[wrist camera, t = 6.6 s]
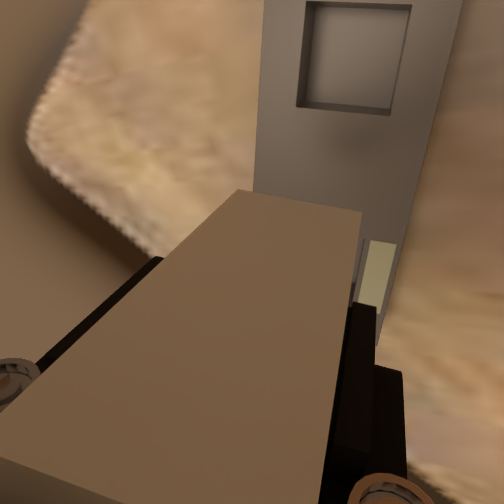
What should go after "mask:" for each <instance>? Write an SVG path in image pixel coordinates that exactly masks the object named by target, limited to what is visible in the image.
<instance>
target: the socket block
mask: <svg viewBox="0 0 504 504" xmlns="http://www.w3.org/2000/svg"><path fill="white" fill-rule="evenodd" d="M463 1H464V0H264V14H263V31H262V48H261V64H260V81H259V98H258V115H257V132H256V149H255V166H254V183H253V192H256V193H261V194H267V195H272V196H278V197H283V198H288V199H294V200H299V201H305V202H310V203H316V204H321V205H327V206H332V207H338V208H343V209H349V210H354V211H360V212H362V217H361V224H360V230H359V237H358V243H357V250H356V256H355V263H354V270H353V276H352V283H351V289H350V296H349V302H348V306H349V307H351V306H352V303H353V301H354V302H358V303H363V304H367V305H371V306H376V307H377V316H376V340H375V346H377V344H378V340H379V336H380V332H381V328H382V324H383V320H384V316H385V312H386V308H387V304H388V300H389V296H390V292H391V288H392V284H393V280H394V276H395V272H396V268H397V264H398V260H399V256H400V252H401V248H402V244H403V240H404V236H405V232H406V228H407V224H408V220H409V216H410V212H411V208H412V204H413V200H414V196H415V192H416V188H417V184H418V180H419V176H420V172H421V168H422V164H423V160H424V156H425V152H426V148H427V144H428V140H429V136H430V132H431V128H432V124H433V120H434V116H435V112H436V108H437V104H438V100H439V96H440V93H441V89H442V85H443V81H444V77H445V73H446V69H447V65H448V61H449V57H450V53H451V49H452V45H453V41H454V37H455V33H456V29H457V25H458V21H459V17H460V13H461V9H462V5H463Z"/></svg>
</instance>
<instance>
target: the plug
mask: <svg viewBox="0 0 504 504" xmlns="http://www.w3.org/2000/svg"><path fill="white" fill-rule="evenodd" d="M361 217H362V212H360V211H354V210H349V209H343V208H338V207H332V206H327V205H321V204H316V203H310V202H305V201H299V200H294V199H288V198H283V197H278V196H272V195H267V194H261V193H256V192H250V191H245V190H239V189H238V190H237V191H236V192H234V193H233V194H232V195H231V196H230V197H229V198H228V199H227V200H226V201H225V202H224V203H223V204H222V205H221V206H220V207H219V208H217V209H216V210H215V211H214V212H213V213H212V214H211V215H210V216H209V217H208V218H207V219H206V220H205V221H204V222H203V223H202V224H201V225H199V226H198V227H197V228H196V229H195V230H194V231H193V232H192V233H191V234H190V235H189V236H188V237H187V238H186V239H185V240H184V241H182V242H181V243H180V244H179V245H178V246H177V247H176V248H175V249H174V250H173V251H172V252H171V253H170V254H169V255H168V256H167V257H165V258H164V259H163V260H162V261H161V262H160V263H159V264H158V265H157V266H156V267H155V268H154V269H153V270H152V271H151V272H150V273H148V274H147V275H146V276H145V277H144V278H143V279H142V280H141V281H140V282H139V283H138V284H137V285H136V286H135V287H134V288H133V289H131V290H130V291H129V292H128V293H127V294H126V295H125V296H124V297H123V298H122V299H121V300H120V301H119V302H118V303H117V304H116V305H115V306H113V307H112V308H111V309H110V310H109V311H108V312H107V313H106V314H105V315H104V316H103V317H102V318H101V319H100V320H99V321H98V322H96V323H95V324H94V325H93V326H92V327H91V328H90V329H89V330H88V331H87V332H86V333H85V334H84V335H83V336H82V337H81V338H79V339H78V340H77V341H76V342H75V343H74V344H73V345H72V346H71V347H70V348H69V349H68V350H67V351H66V352H65V353H64V354H62V355H61V356H60V357H59V358H58V359H57V360H56V361H55V362H54V363H53V364H52V365H51V366H50V367H49V368H48V369H47V370H46V371H44V372H43V373H42V374H41V375H40V376H39V377H38V378H37V379H36V380H35V381H34V382H33V383H32V384H31V385H30V386H29V387H27V388H26V389H25V390H24V391H23V392H22V393H21V394H20V395H19V396H18V397H17V398H16V399H15V400H14V401H13V402H12V403H10V404H9V405H8V406H7V407H6V408H5V409H4V410H3V411H2V412H1V413H0V504H318V499H319V493H320V486H321V480H322V473H323V467H324V460H325V453H326V447H327V440H328V434H329V427H330V421H331V414H332V408H333V401H334V394H335V388H336V381H337V375H338V368H339V362H340V355H341V348H342V342H343V335H344V329H345V322H346V316H347V309H348V302H349V296H350V289H351V283H352V276H353V270H354V263H355V256H356V250H357V243H358V237H359V230H360V224H361Z"/></svg>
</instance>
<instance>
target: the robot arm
mask: <svg viewBox="0 0 504 504" xmlns="http://www.w3.org/2000/svg"><path fill="white" fill-rule="evenodd" d="M163 259H164V258H163V257H158V256H155V257H154V258H152V259H151V260H150V261H149V262H148V263H147V264H146V265H144V266H143V267H142V268H141V269H140V270H139V271H138V272H137V273H135V274H134V275H133V276H132V277H131V278H130V279H129V280H128V281H127V282H125V283H124V284H123V285H122V286H121V287H120V288H119V289H118V290H116V291H115V292H114V293H113V294H112V295H111V296H110V297H109V298H108V299H106V300H105V301H104V302H103V303H102V304H101V305H100V306H99V307H97V308H96V309H95V310H94V311H93V312H92V313H91V314H90V315H89V316H87V317H86V318H85V319H84V320H83V321H82V322H81V323H80V324H78V325H77V326H76V327H75V328H74V329H73V330H72V331H71V332H69V333H68V334H67V335H66V336H65V337H64V338H63V339H62V340H61V341H59V342H58V343H57V344H56V345H55V346H54V347H53V348H52V349H50V350H49V351H48V352H47V353H46V354H45V355H44V356H43V357H42V358H41V359H40V360H39V361H37V363H35V364H34V363H33V362H31V361H29V360H25V359H22V358H6V359H1V360H0V413H1V412H2V411H3V410H4V409H5V408H6V407H7V406H8V405H9V404H10V403H12V402H13V401H14V400H15V399H16V398H17V397H18V396H19V395H20V394H21V393H22V392H23V391H24V390H25V389H26V388H27V387H29V386H30V385H31V384H32V383H33V382H34V381H35V380H36V379H37V378H38V377H39V376H40V375H41V374H42V373H43V372H44V371H46V370H47V369H48V368H49V367H50V366H51V365H52V364H53V363H54V362H55V361H56V360H57V359H58V358H59V357H60V356H61V355H62V354H64V353H65V352H66V351H67V350H68V349H69V348H70V347H71V346H72V345H73V344H74V343H75V342H76V341H77V340H78V339H79V338H81V337H82V336H83V335H84V334H85V333H86V332H87V331H88V330H89V329H90V328H91V327H92V326H93V325H94V324H95V323H96V322H98V321H99V320H100V319H101V318H102V317H103V316H104V315H105V314H106V313H107V312H108V311H109V310H110V309H111V308H112V307H113V306H115V305H116V304H117V303H118V302H119V301H120V300H121V299H122V298H123V297H124V296H125V295H126V294H127V293H128V292H129V291H130V290H131V289H133V288H134V287H135V286H136V285H137V284H138V283H139V282H140V281H141V280H142V279H143V278H144V277H145V276H146V275H147V274H148V273H150V272H151V271H152V270H153V269H154V268H155V267H156V266H157V265H158V264H159V263H160V262H161V261H162V260H163ZM376 316H377V307H376V306H371V305H367V304H363V303H358V302H354V301H353V303H352V306H351V307H349V306H348V309H347V316H346V322H345V329H344V335H343V342H342V348H341V355H340V362H339V368H338V375H337V381H336V388H335V394H334V401H333V408H332V414H331V421H330V427H329V434H328V440H327V447H326V453H325V460H324V467H323V473H322V480H321V486H320V493H319V499H318V504H434V503H433V501H432V500H431V498H429V497H428V496H427V495H426V494H425V493H424V492H423V491H422V490H421V489H420V488H419V487H418V486H416V485H414V484H413V483H411V482H409V481H408V480H407V463H406V441H405V419H404V397H403V378H402V373H401V371H397V370H394V369H390V368H386V367H382V366H378V365H374V364H375V340H376Z"/></svg>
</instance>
